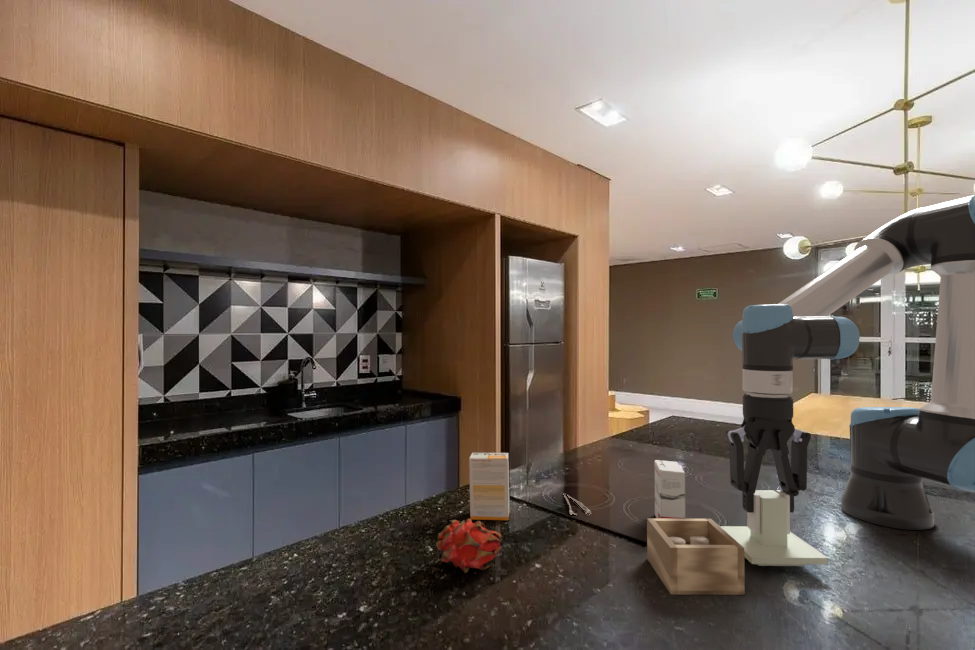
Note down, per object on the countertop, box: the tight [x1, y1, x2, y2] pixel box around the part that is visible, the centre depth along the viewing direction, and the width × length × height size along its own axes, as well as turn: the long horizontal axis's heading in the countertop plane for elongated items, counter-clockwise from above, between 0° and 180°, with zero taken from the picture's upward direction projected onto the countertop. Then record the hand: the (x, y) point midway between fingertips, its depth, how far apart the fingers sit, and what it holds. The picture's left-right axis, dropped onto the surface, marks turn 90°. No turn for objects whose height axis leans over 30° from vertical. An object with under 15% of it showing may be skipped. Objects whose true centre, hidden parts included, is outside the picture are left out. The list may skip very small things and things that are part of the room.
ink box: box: [654, 459, 686, 519], centre depth 98 cm, size 9×5×12 cm, turn 168°
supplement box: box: [468, 452, 510, 521], centre depth 101 cm, size 8×5×13 cm, turn 84°
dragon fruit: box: [434, 518, 506, 574], centre depth 80 cm, size 8×8×12 cm
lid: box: [719, 489, 829, 567], centre depth 82 cm, size 12×12×10 cm
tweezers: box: [562, 493, 592, 516], centre depth 110 cm, size 17×5×2 cm, turn 7°
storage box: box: [646, 517, 746, 596], centre depth 77 cm, size 11×11×7 cm
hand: (768, 530), depth 82 cm, fingers open, 4 cm apart
